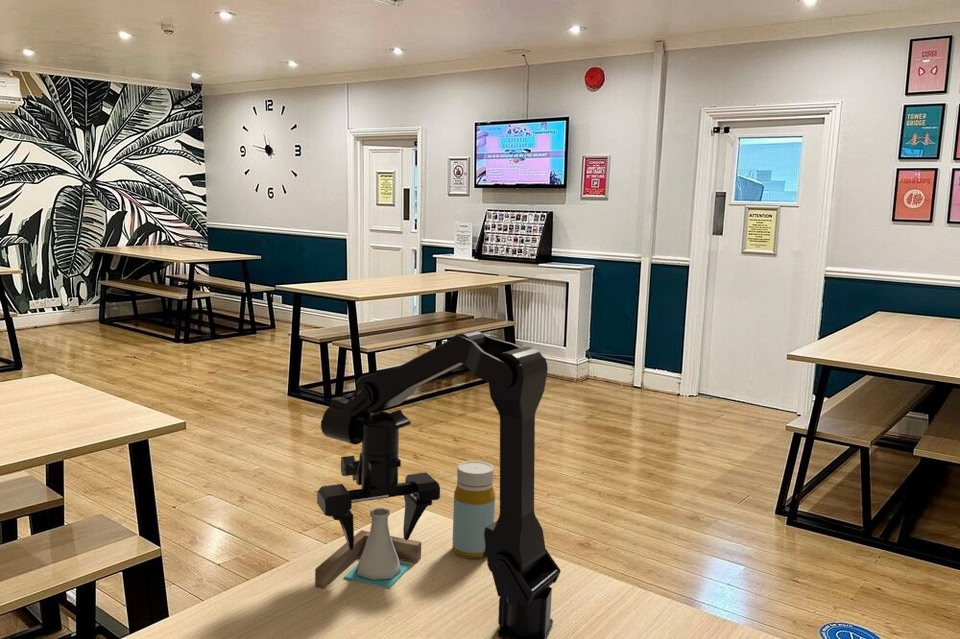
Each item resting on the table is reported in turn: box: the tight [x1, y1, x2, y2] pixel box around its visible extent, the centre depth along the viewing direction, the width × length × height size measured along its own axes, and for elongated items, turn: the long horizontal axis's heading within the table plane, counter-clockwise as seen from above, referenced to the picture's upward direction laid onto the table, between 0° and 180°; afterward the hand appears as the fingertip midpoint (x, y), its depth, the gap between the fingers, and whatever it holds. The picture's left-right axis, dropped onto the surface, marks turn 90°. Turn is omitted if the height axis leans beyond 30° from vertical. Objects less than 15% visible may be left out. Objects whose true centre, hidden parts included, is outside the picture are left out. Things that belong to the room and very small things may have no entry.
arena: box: [314, 530, 422, 590], centre depth 118 cm, size 11×15×3 cm
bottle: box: [452, 460, 496, 559], centre depth 126 cm, size 7×7×15 cm
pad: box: [343, 560, 412, 589], centre depth 118 cm, size 8×8×1 cm
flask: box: [357, 507, 401, 580], centre depth 118 cm, size 7×7×10 cm
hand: (378, 544), depth 118 cm, fingers open, 9 cm apart
